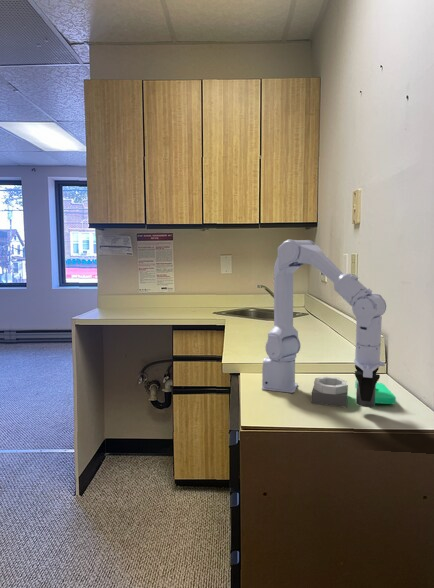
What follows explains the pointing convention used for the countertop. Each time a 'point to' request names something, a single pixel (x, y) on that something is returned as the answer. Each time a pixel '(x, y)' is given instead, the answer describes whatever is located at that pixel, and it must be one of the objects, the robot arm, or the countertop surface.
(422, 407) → the countertop surface
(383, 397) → the camera mount
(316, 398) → the square octagon-collar plate
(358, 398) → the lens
